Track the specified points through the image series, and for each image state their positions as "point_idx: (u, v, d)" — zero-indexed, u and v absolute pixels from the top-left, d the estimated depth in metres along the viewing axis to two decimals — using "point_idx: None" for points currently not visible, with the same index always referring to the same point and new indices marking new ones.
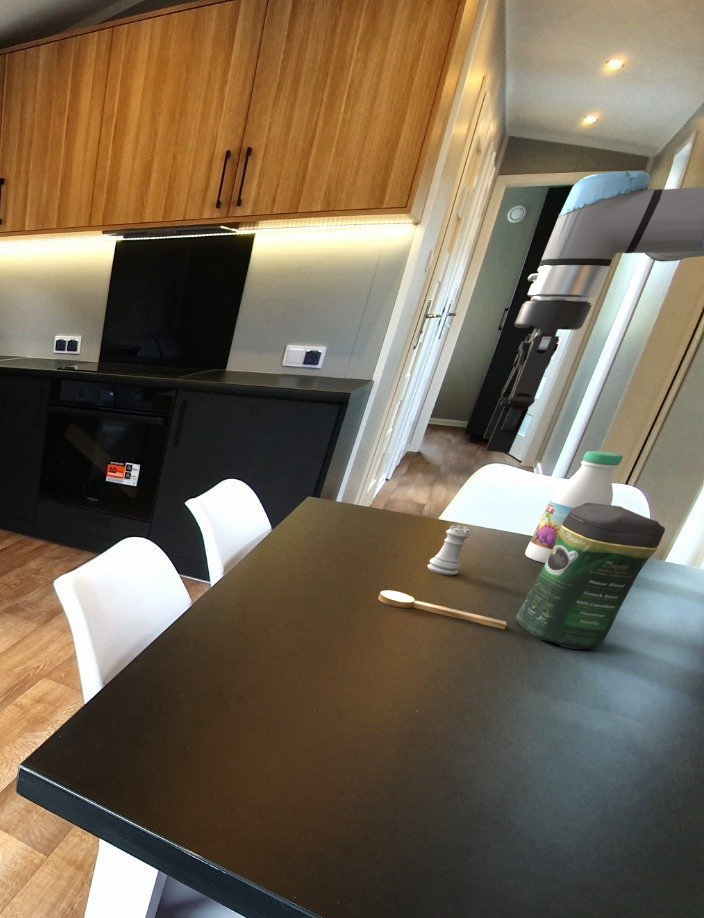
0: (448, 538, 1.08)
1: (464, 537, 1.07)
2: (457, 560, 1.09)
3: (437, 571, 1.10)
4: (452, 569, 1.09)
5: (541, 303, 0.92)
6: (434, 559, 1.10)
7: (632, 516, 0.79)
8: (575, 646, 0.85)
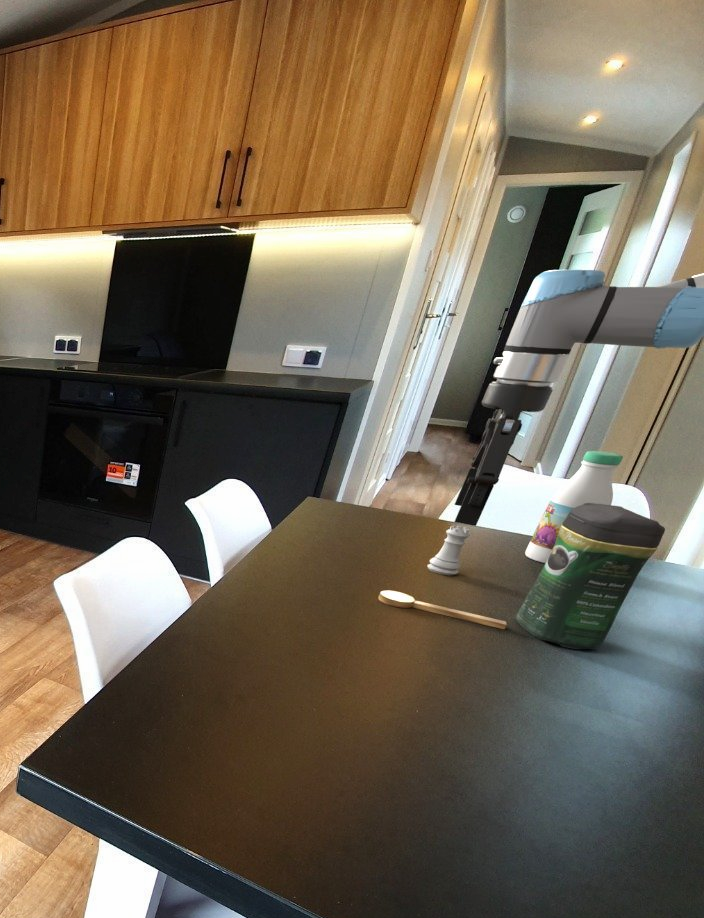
0: (448, 538, 1.08)
1: (464, 537, 1.07)
2: (457, 560, 1.09)
3: (437, 571, 1.10)
4: (452, 569, 1.09)
5: (505, 387, 0.97)
6: (434, 559, 1.10)
7: (632, 516, 0.79)
8: (575, 646, 0.85)
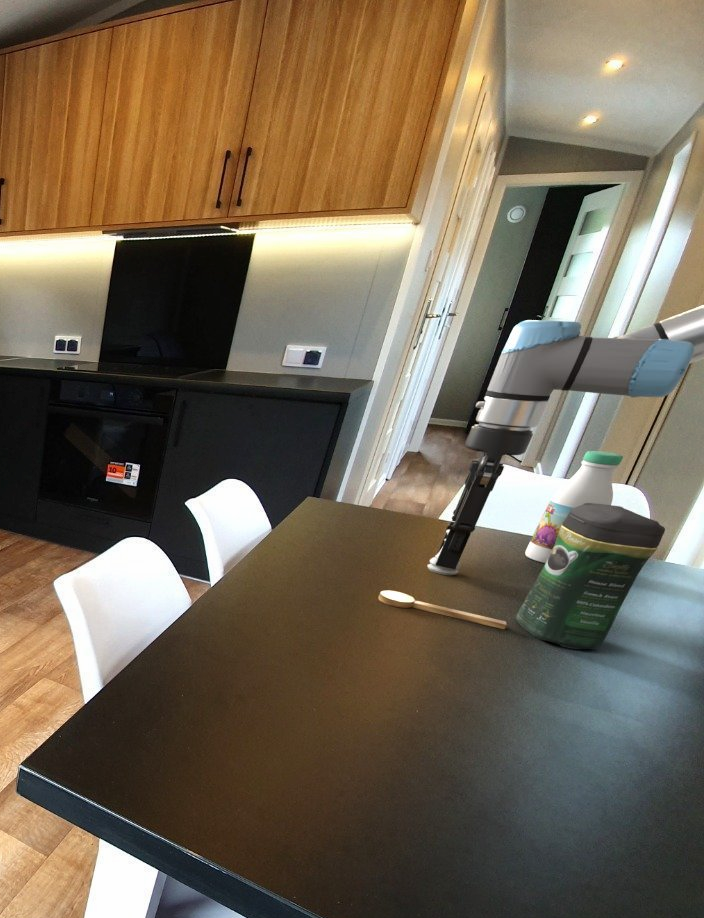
0: None
1: None
2: None
3: (437, 571, 1.10)
4: (452, 569, 1.09)
5: (486, 431, 0.99)
6: (434, 559, 1.10)
7: (632, 516, 0.79)
8: (575, 646, 0.85)
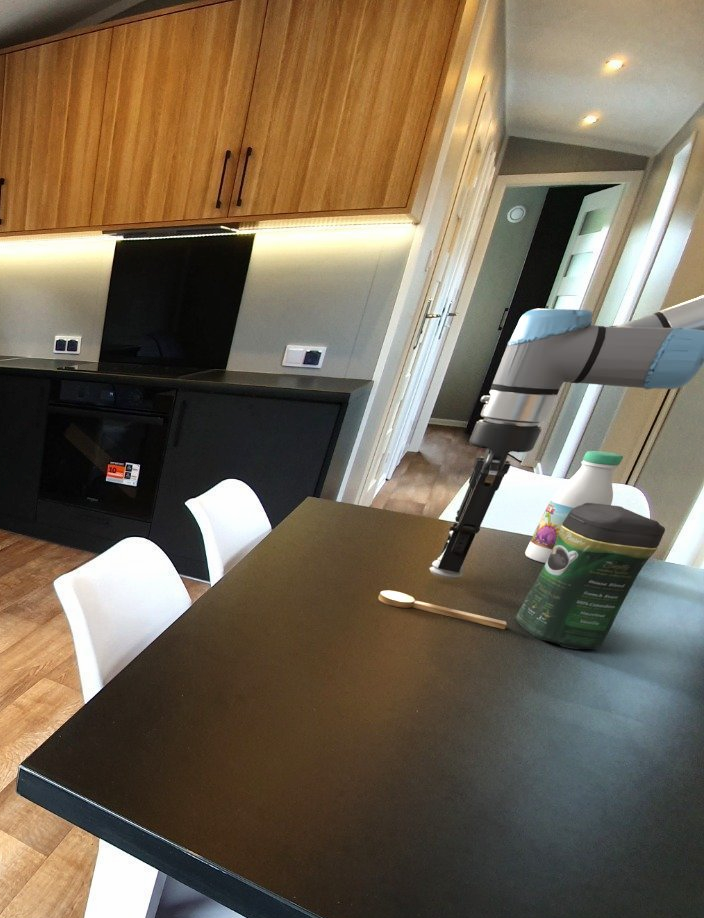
0: None
1: None
2: None
3: (440, 574, 1.04)
4: (455, 572, 1.03)
5: (492, 426, 0.94)
6: (437, 562, 1.05)
7: (633, 516, 0.79)
8: (575, 646, 0.85)
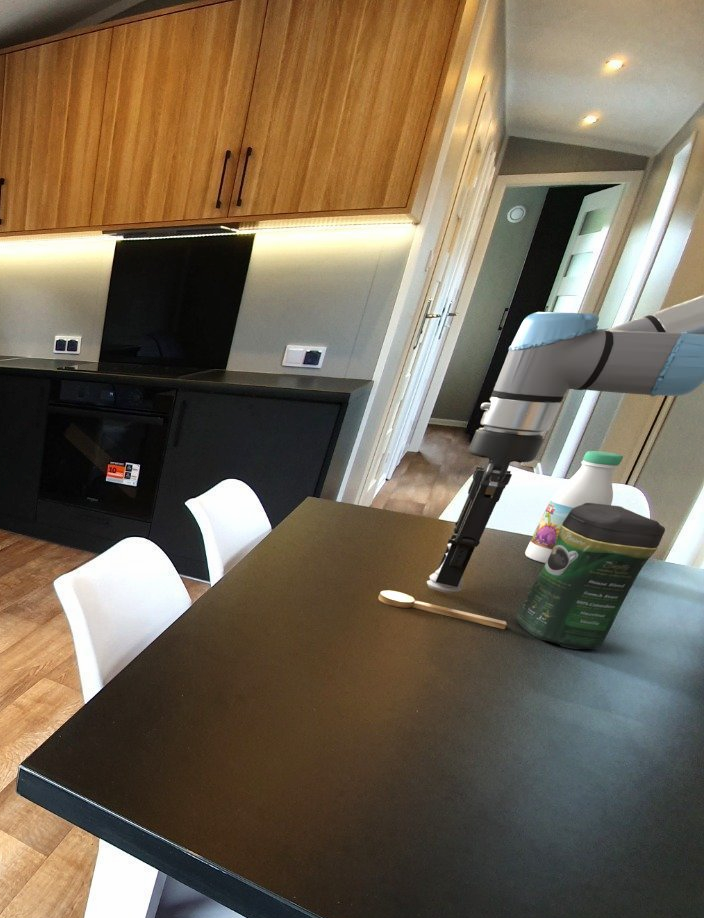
0: None
1: None
2: None
3: (437, 588, 1.00)
4: (454, 586, 0.99)
5: (493, 435, 0.90)
6: (434, 575, 1.01)
7: (633, 516, 0.79)
8: (575, 646, 0.85)
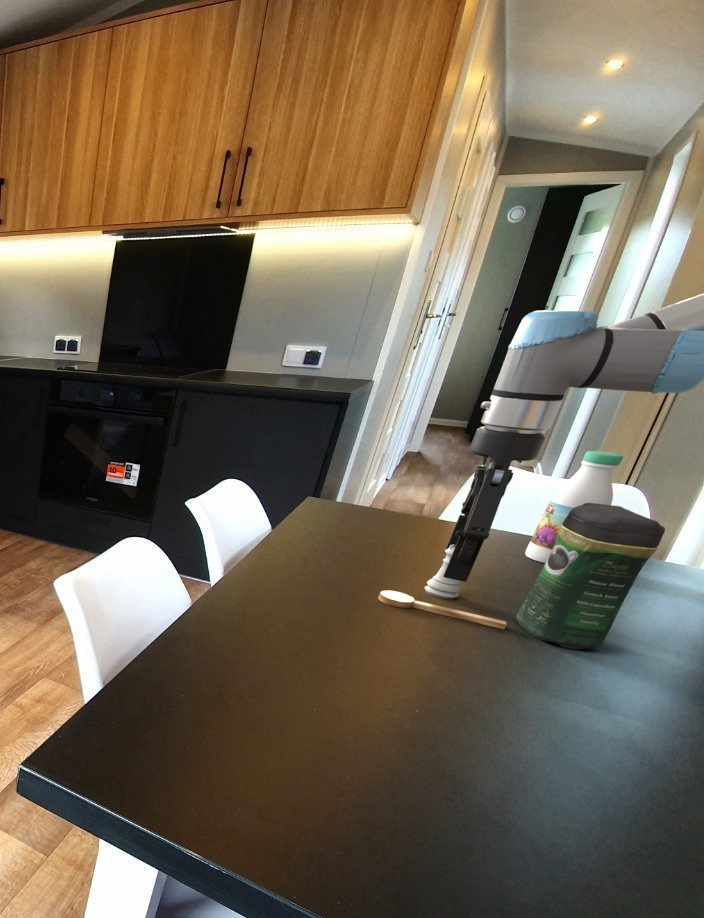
0: (447, 558, 0.99)
1: None
2: (457, 582, 0.99)
3: (435, 594, 1.01)
4: (451, 592, 0.99)
5: (493, 434, 0.90)
6: (432, 581, 1.01)
7: (633, 516, 0.79)
8: (575, 646, 0.85)
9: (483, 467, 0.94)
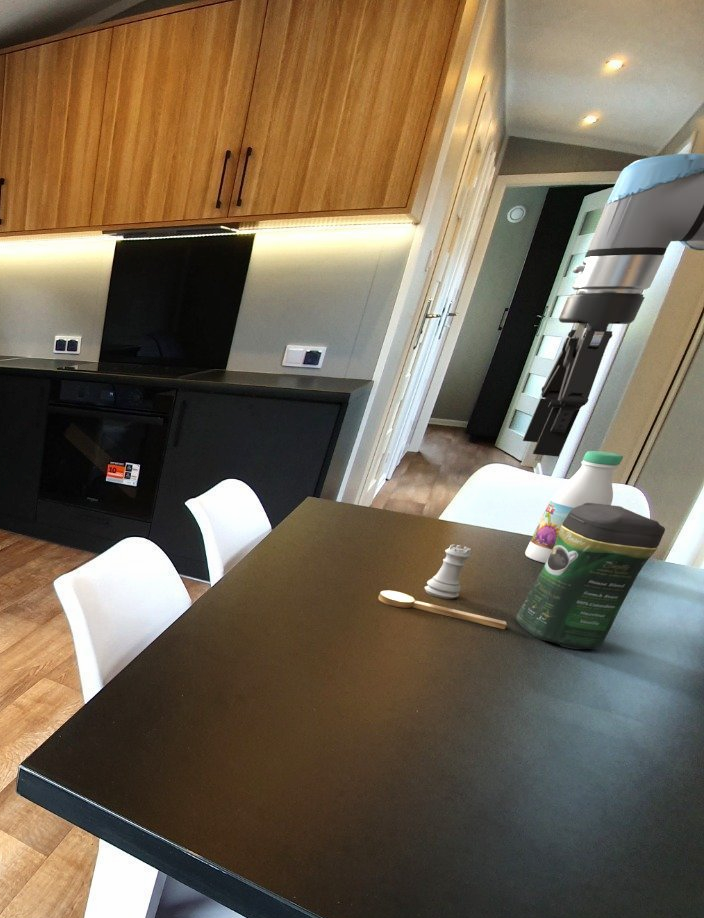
0: (447, 558, 0.99)
1: (465, 557, 0.97)
2: (457, 582, 0.99)
3: (435, 594, 1.01)
4: (451, 592, 0.99)
5: (589, 296, 0.86)
6: (432, 581, 1.01)
7: (632, 516, 0.79)
8: (575, 646, 0.85)
9: None
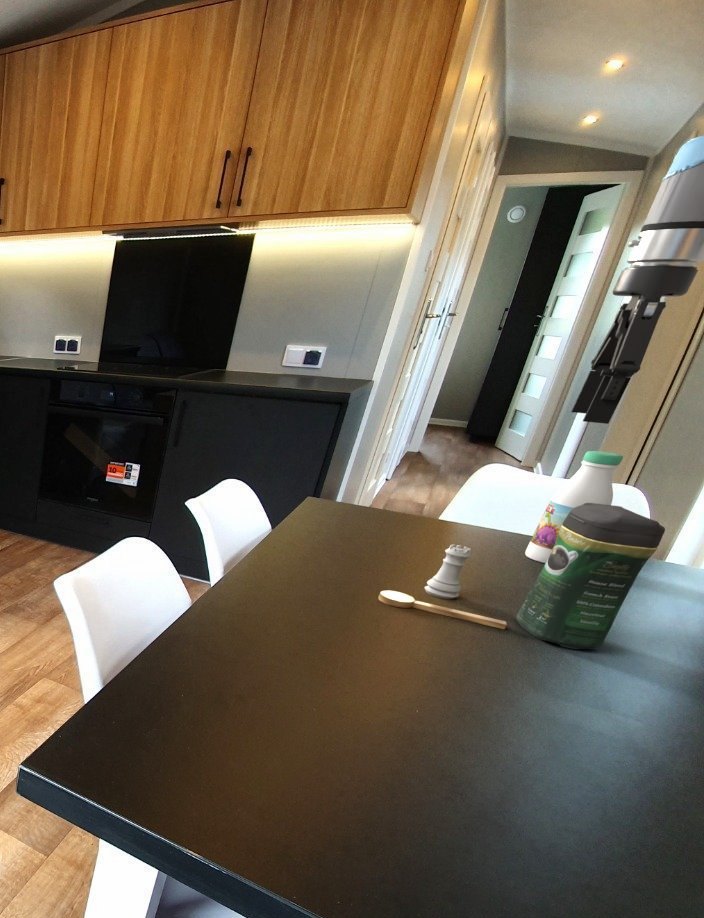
0: (447, 558, 0.99)
1: (465, 557, 0.97)
2: (457, 582, 0.99)
3: (435, 594, 1.01)
4: (451, 592, 0.99)
5: (644, 269, 0.90)
6: (432, 581, 1.01)
7: (632, 516, 0.79)
8: (575, 646, 0.85)
9: None
